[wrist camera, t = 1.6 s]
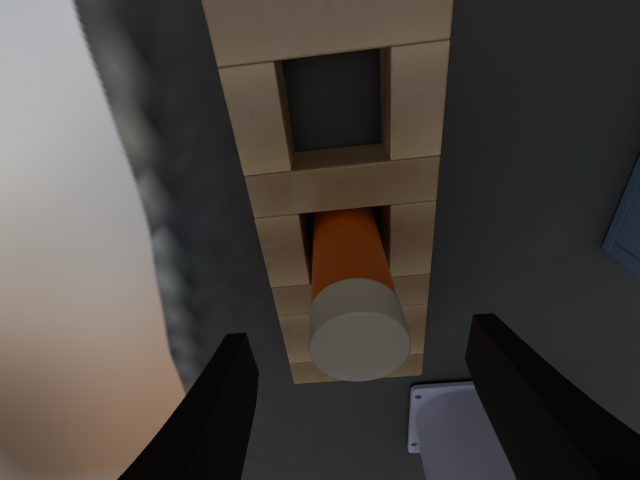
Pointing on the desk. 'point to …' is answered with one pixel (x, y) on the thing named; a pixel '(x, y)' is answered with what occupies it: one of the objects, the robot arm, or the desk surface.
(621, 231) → the bin
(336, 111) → the desk surface
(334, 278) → the pill bottle
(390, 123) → the pen rack
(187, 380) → the desk surface
